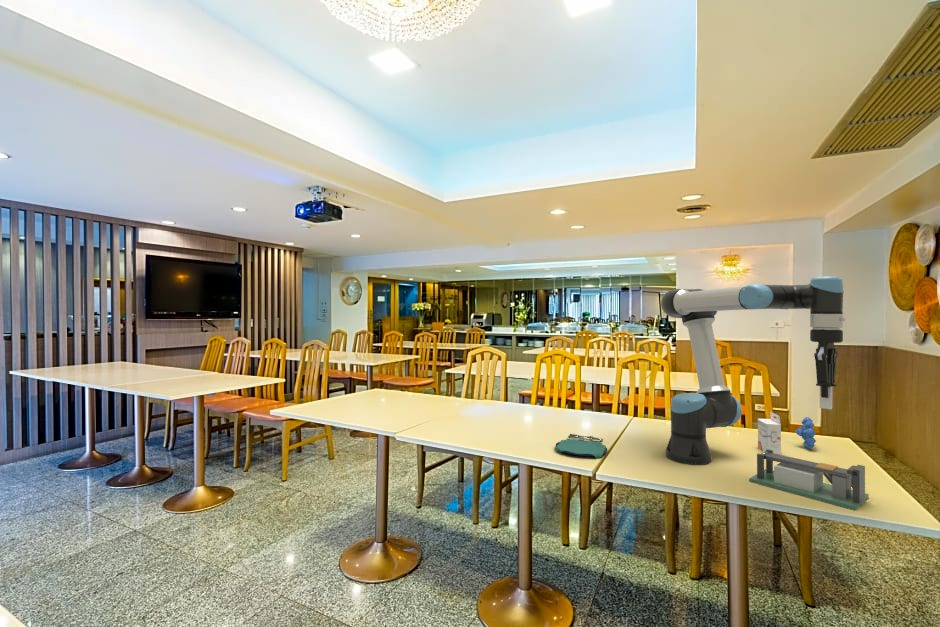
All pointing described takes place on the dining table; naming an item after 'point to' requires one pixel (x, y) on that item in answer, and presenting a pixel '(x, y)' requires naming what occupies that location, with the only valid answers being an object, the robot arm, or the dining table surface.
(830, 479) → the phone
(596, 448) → the teal clutch purse
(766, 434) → the ink cartridge box
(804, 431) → the grapes
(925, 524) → the dining table surface
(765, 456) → the clamp bar
